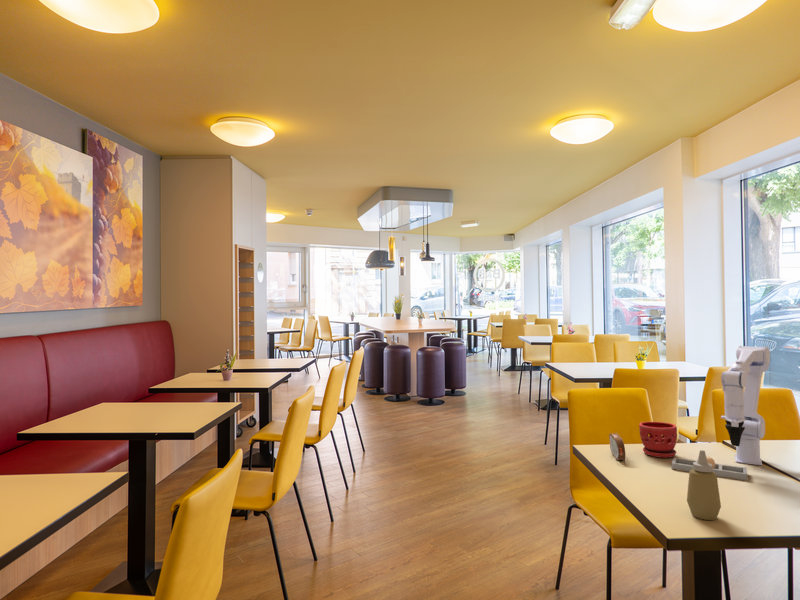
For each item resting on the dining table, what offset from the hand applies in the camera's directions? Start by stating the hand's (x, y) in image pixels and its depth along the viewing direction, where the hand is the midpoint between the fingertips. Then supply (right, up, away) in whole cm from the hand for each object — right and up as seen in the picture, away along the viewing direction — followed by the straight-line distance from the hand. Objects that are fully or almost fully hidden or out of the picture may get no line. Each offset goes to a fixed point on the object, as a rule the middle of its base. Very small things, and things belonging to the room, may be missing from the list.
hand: (735, 443), depth 171 cm
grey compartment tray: (-10, -10, -2) cm, 14 cm away
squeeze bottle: (-35, -9, -38) cm, 53 cm away
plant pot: (-17, -10, +19) cm, 27 cm away
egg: (-11, -9, -1) cm, 14 cm away
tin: (-35, -10, +16) cm, 40 cm away
